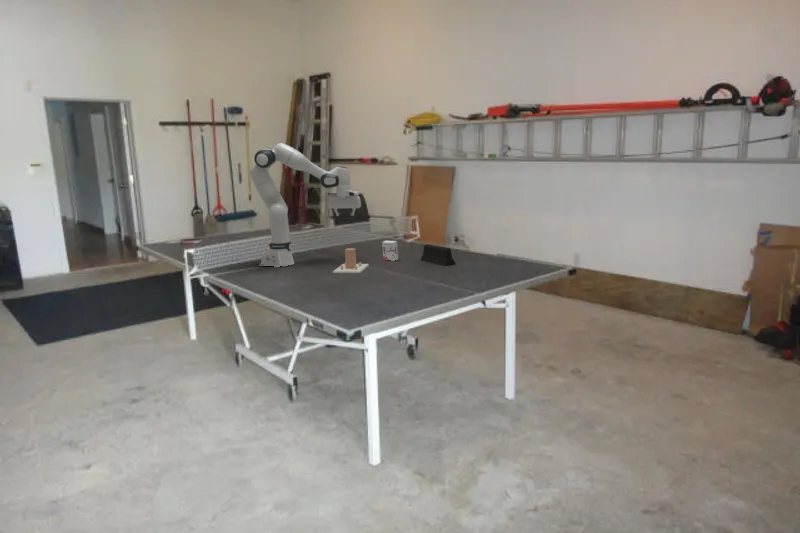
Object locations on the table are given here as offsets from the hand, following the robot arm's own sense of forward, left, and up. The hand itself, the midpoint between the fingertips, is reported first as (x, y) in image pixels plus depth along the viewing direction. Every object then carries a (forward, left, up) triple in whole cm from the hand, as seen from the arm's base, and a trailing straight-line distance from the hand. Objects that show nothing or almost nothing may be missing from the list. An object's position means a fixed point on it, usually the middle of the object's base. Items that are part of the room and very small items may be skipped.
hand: (345, 215), depth 349 cm
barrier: (+57, 0, -30) cm, 64 cm away
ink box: (+26, +6, -29) cm, 40 cm away
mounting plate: (+8, -20, -29) cm, 36 cm away
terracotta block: (+8, -20, -28) cm, 35 cm away
